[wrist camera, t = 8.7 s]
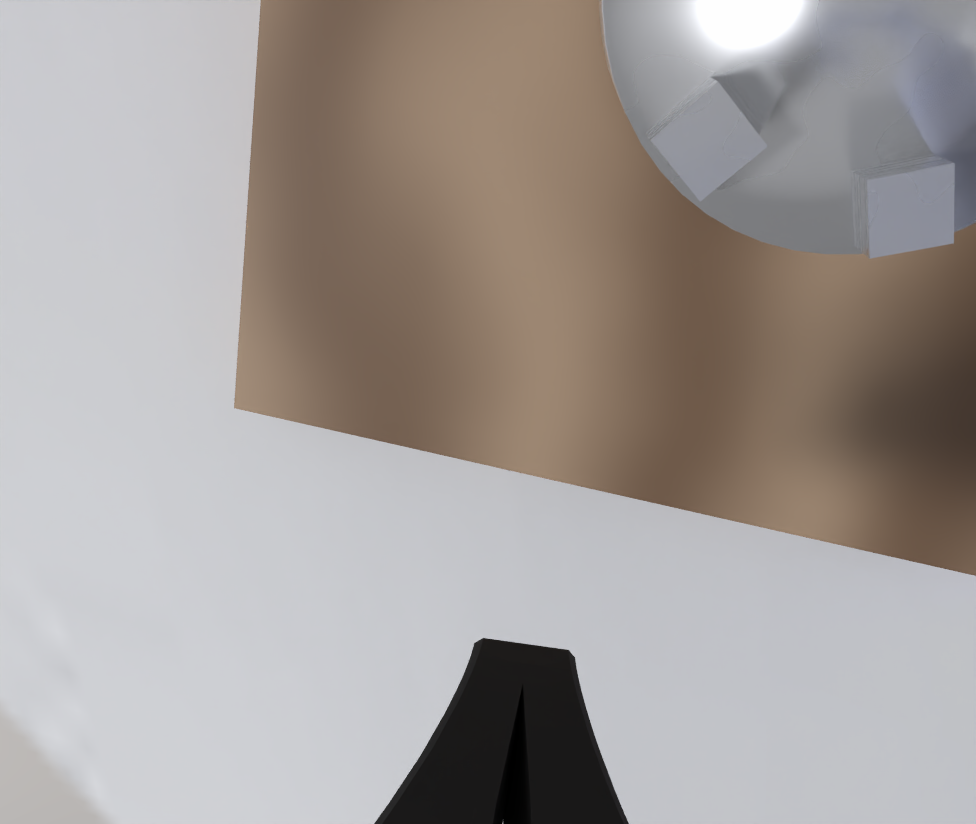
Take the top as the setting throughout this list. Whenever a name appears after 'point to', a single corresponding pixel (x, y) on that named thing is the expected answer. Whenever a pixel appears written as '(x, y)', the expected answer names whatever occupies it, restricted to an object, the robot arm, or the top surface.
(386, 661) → the top surface
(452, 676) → the top surface
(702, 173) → the crank handle wheel
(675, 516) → the top surface
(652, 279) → the plain tan brown board
